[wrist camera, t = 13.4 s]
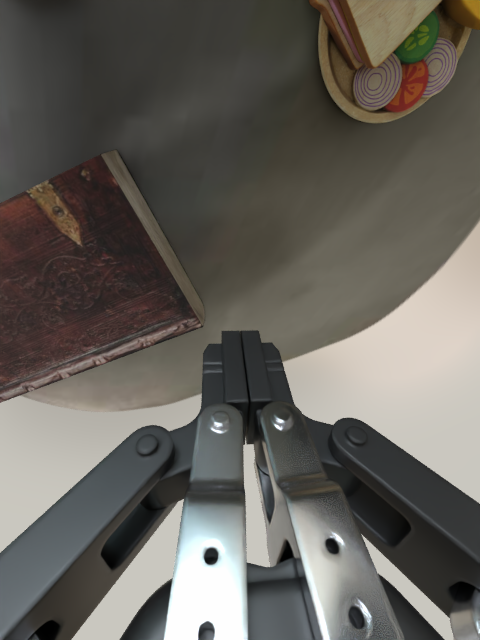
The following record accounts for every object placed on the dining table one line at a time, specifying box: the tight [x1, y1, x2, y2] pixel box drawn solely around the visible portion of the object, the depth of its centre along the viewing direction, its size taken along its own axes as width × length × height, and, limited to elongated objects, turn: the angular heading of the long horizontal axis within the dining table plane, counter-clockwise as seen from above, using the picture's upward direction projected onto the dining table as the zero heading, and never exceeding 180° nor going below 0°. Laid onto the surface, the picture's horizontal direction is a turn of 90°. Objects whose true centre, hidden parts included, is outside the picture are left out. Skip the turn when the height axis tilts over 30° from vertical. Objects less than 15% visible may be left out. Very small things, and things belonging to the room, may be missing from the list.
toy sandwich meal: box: [309, 0, 480, 123], centre depth 21 cm, size 12×14×5 cm
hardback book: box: [0, 150, 205, 403], centre depth 31 cm, size 29×19×5 cm, turn 111°
